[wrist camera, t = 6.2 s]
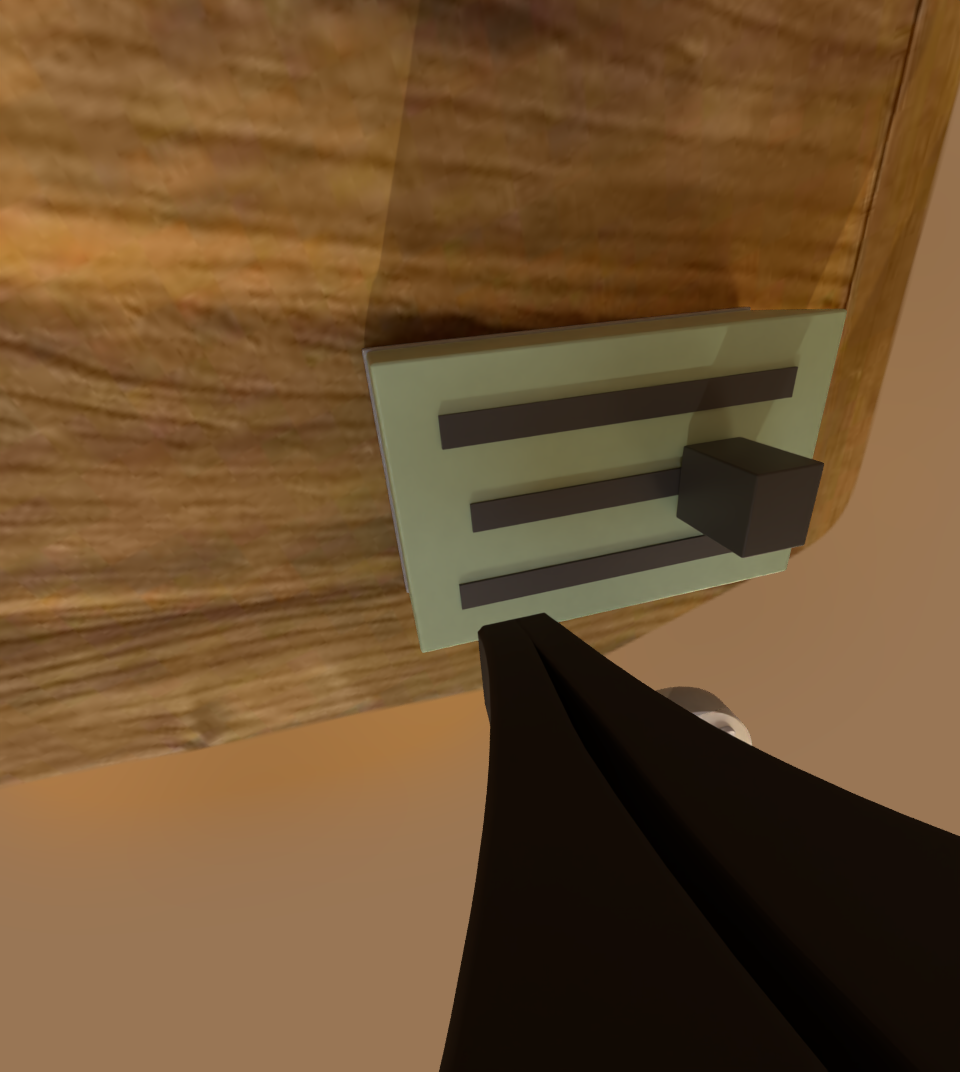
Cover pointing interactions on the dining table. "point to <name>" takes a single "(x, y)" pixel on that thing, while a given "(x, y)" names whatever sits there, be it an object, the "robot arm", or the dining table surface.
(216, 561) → the dining table surface
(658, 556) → the green slab
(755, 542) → the slider
